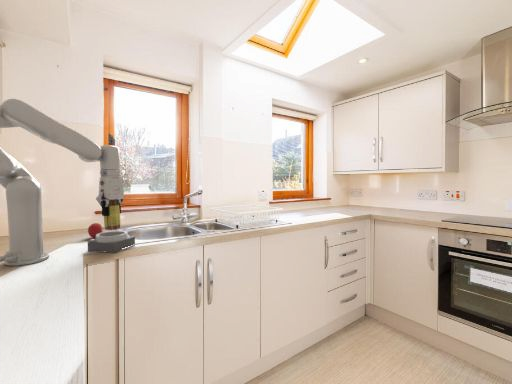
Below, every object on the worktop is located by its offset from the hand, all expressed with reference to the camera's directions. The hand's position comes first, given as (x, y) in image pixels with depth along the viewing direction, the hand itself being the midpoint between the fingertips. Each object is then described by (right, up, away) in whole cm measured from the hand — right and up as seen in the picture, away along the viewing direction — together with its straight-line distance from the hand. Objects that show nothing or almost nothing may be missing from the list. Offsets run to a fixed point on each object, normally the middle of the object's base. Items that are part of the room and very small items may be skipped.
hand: (111, 214), depth 115 cm
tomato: (-20, -14, +21) cm, 32 cm away
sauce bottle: (0, -7, 0) cm, 7 cm away
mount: (0, -15, +1) cm, 15 cm away
